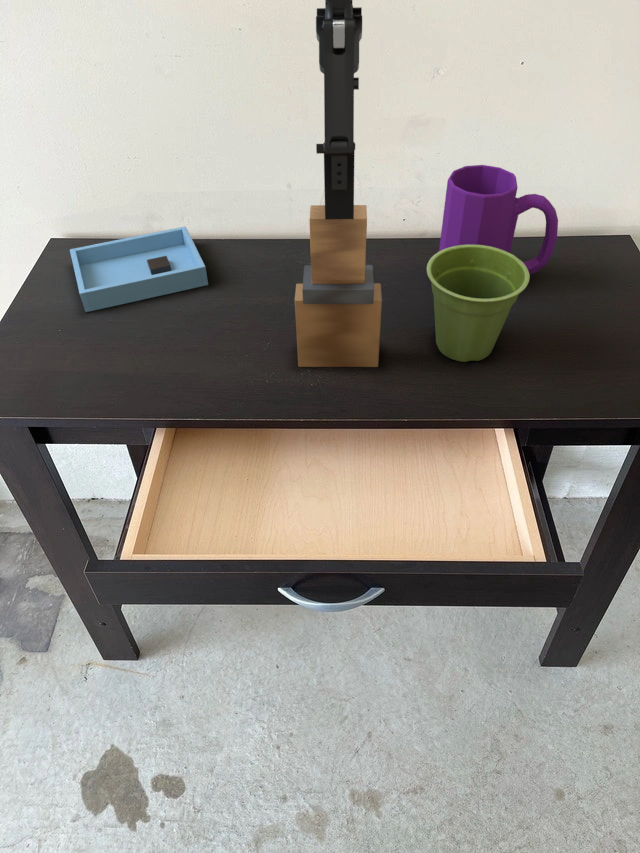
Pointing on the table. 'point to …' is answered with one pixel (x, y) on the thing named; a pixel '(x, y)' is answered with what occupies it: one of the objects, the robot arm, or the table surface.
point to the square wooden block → (338, 332)
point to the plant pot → (473, 297)
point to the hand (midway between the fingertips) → (339, 185)
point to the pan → (136, 268)
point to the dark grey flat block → (159, 265)
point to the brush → (338, 260)
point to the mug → (492, 212)
